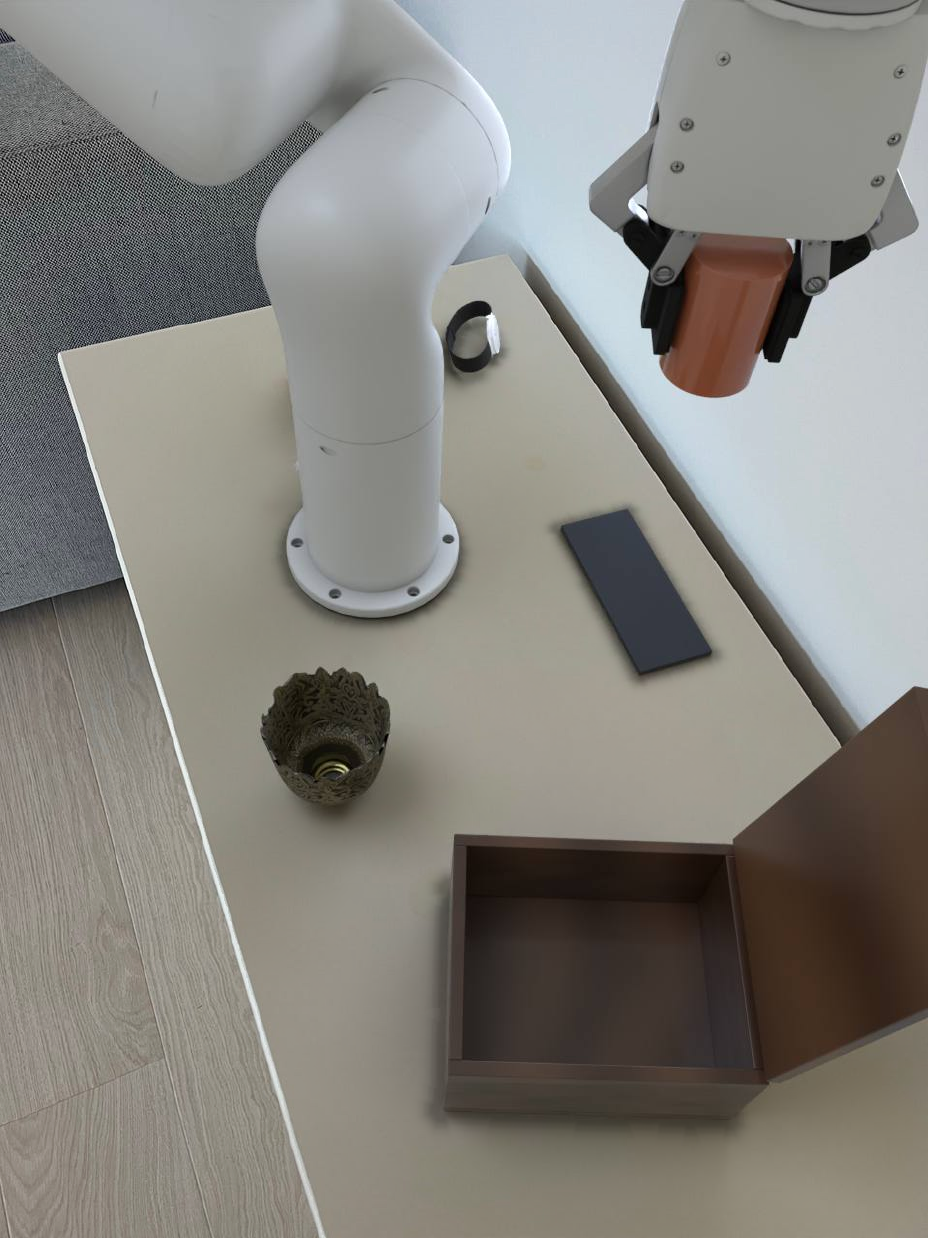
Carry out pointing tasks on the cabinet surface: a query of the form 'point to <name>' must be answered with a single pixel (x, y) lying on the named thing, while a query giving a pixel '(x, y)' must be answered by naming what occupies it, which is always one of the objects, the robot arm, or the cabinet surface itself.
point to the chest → (598, 979)
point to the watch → (493, 343)
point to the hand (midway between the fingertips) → (714, 337)
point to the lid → (841, 897)
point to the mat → (635, 591)
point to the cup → (327, 734)
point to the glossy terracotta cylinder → (725, 312)
